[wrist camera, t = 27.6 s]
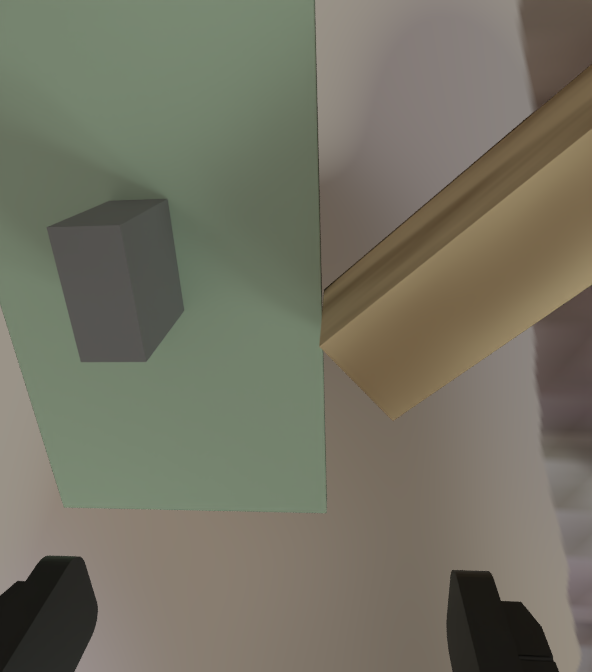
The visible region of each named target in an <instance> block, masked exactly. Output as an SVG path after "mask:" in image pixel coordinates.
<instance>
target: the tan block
mask: <svg viewBox="0 0 592 672" xmlns="http://www.w3.org/2000/svg"><path fill="white" fill-rule="evenodd" d="M591 285H592V64H591V65H590V66H589V67H588V68H587V69H585V70H584V71H583V72H582V73H581V74H580V75H578V76H577V77H576V78H575V79H574V80H572V81H571V82H570V83H569V84H568V85H567V86H565V87H564V88H563V89H562V90H561V91H559V92H558V93H557V94H556V95H555V96H554V97H552V98H551V99H550V100H549V101H548V102H546V103H545V104H544V105H543V106H542V107H541V108H539V109H538V110H537V111H536V112H535V113H532V114H530V115H529V116H528V117H527V118H526V119H525V120H523V121H522V122H521V123H520V124H519V125H517V126H516V127H515V128H514V129H513V130H512V131H511V132H509V133H508V134H507V135H506V136H504V137H503V138H502V139H501V140H500V141H499V142H497V143H496V144H495V145H494V146H493V147H492V148H490V149H489V150H488V151H487V152H486V153H484V154H483V155H482V156H481V157H480V158H479V159H477V160H476V161H475V162H474V163H473V164H471V165H470V166H469V167H468V168H467V169H466V170H464V171H463V172H462V173H461V174H460V175H458V176H457V177H456V178H455V179H454V180H453V181H452V182H450V183H449V184H448V185H447V186H446V187H444V188H443V189H442V190H441V191H440V192H438V193H437V194H436V195H435V196H434V197H433V198H431V199H430V200H429V201H428V202H427V203H425V204H424V205H423V206H422V207H421V208H420V209H418V210H417V211H416V212H415V213H414V214H412V215H411V216H410V217H409V218H408V219H407V220H405V221H404V222H403V223H402V224H401V225H399V226H398V227H397V228H396V229H395V230H394V231H392V232H391V233H390V234H389V235H388V236H387V237H385V238H384V239H383V240H382V241H381V242H379V243H378V244H377V245H376V246H375V247H374V248H372V249H371V250H370V251H369V252H368V253H366V254H365V255H364V256H363V257H362V258H361V259H359V260H358V261H357V262H356V263H355V264H354V265H352V266H351V267H350V268H349V269H348V270H346V271H345V272H344V273H343V274H342V275H340V276H339V277H338V278H337V279H336V280H335V281H333V282H332V283H331V284H330V285H329V286H328V287H326V288H325V289H324V298H323V309H322V321H321V332H320V344H319V347H320V348H321V349H322V350H323V351H324V352H325V353H326V354H327V355H328V356H329V357H330V358H331V359H332V360H333V361H334V362H335V363H336V364H337V365H338V366H339V367H340V368H341V369H342V370H343V371H344V372H345V373H346V374H347V375H348V376H349V377H350V378H351V379H352V380H353V381H354V382H355V383H356V384H357V385H358V386H359V387H360V388H361V389H362V390H363V391H364V392H365V393H366V394H367V395H368V396H369V397H370V398H371V399H372V400H373V401H374V402H375V403H376V404H377V405H378V407H379V408H380V409H381V410H383V412H385V414H386V415H387V416H389V418H390V419H391V420H393V421H394V420H395V419H397V418H398V417H399V416H401V415H402V414H404V413H405V412H407V411H408V410H409V409H411V408H413V407H414V406H416V405H417V404H418V403H420V402H421V401H423V400H424V399H426V398H427V397H429V396H430V395H431V394H433V393H434V392H436V391H437V390H439V389H440V388H442V387H443V386H445V385H446V384H448V383H449V382H451V381H452V380H453V379H455V378H456V377H458V376H459V375H461V374H462V373H464V372H465V371H467V370H468V369H470V368H471V367H472V366H474V365H475V364H477V363H478V362H480V361H481V360H483V359H484V358H486V357H487V356H489V355H490V354H491V353H493V352H494V351H496V350H497V349H499V348H500V347H502V346H503V345H505V344H506V343H507V342H509V341H510V340H512V339H513V338H515V337H516V336H518V335H519V334H521V333H522V332H524V331H525V330H526V329H528V328H529V327H531V326H532V325H534V324H535V323H537V322H538V321H540V320H541V319H543V318H544V317H545V316H547V315H548V314H550V313H551V312H553V311H554V310H556V309H557V308H559V307H560V306H562V305H563V304H564V303H566V302H567V301H569V300H570V299H572V298H573V297H575V296H576V295H578V294H579V293H581V292H582V291H583V290H585V289H586V288H588V287H589V286H591Z"/></svg>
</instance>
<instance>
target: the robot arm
mask: <svg viewBox="0 0 592 672" xmlns="http://www.w3.org/2000/svg"><path fill="white" fill-rule="evenodd" d="M97 613H98V606H97V601H96V598H95V595H94V591H93V588H92V585H91V581H90V578H89V575H88V571H87V568H86V565H85V562H84V560H83V559H82V558H81V557H75V556H45V557H44V558H42V559H41V560H40V561H39V563H38V564H37V565H36V567H35V568H34V570H33V571H32V573H31V574H30V575H29V577H28V579H27V580H26V581H17V582H16V583H15V584H13V585H12V586H11V587H10V588H9V589H8V590H6V591H5V592H4V593H3V594H2V595H1V596H0V672H74V671H75V669H76V667H77V665H78V663H79V661H80V659H81V657H82V655H83V653H84V651H85V649H86V647H87V645H88V643H89V641H90V639H91V636H92V634H93V632H94V629H95V625H96V621H97ZM447 641H448V649H449V654H450V660H451V666H452V670H453V672H559V671H558V668H557V666H556V663H555V662H554V661H553V655H552V653H551V650H550V647H549V645H548V642H547V640H546V637H545V635H544V632H543V629H542V627H541V626H540V624H539V623H538V622H537V621H536V620H535V618H534V617H533V616H532V615H531V613H530V612H529V611H528V610H527V609H526V607H525V606H524V605H523V604H522V603H521V602H510V601H501V600H500V597H499V594H498V591H497V588H496V585H495V582H494V579H493V576H492V575H491V573H490V572H489V571H465V570H464V571H463V570H452V572H451V577H450V588H449V599H448V610H447Z"/></svg>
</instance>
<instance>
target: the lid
mask: <svg viewBox="0 0 592 672" xmlns="http://www.w3.org/2000/svg"><path fill="white" fill-rule="evenodd" d="M315 25H316V21H315V0H0V305H1V308H2V311H3V314H4V318H5V321H6V324H7V327H8V330H9V334H10V337H11V340H12V343H13V346H14V349H15V353H16V356H17V359H18V362H19V365H20V369H21V372H22V375H23V378H24V381H25V385H26V388H27V391H28V394H29V397H30V400H31V404H32V407H33V410H34V413H35V417H36V420H37V423H38V426H39V429H40V433H41V436H42V439H43V442H44V445H45V448H46V452H47V455H48V458H49V461H50V464H51V468H52V471H53V474H54V477H55V480H56V484H57V487H58V490H59V493H60V496H61V500H62V503H63V506H64V507H69V508H70V507H71V508H114V509H160V510H161V509H163V510H206V511H207V510H208V511H251V512H252V511H253V512H296V513H297V512H298V513H326V510H327V509H326V508H327V485H326V444H325V400H324V362H323V361H324V360H323V359H324V358H323V350H322V349H321V348H320V347H319V344H320V332H321V321H322V273H321V236H320V235H321V234H320V190H319V150H318V149H319V148H318V106H317V68H316V67H317V64H316V26H315Z"/></svg>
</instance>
